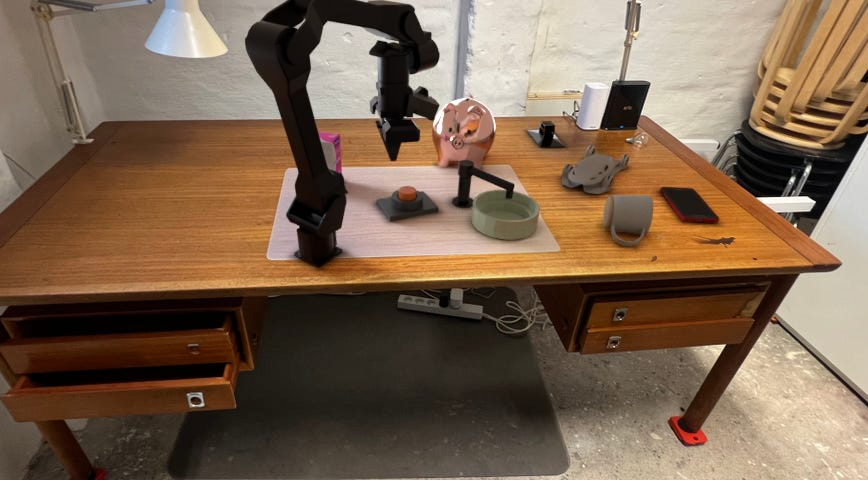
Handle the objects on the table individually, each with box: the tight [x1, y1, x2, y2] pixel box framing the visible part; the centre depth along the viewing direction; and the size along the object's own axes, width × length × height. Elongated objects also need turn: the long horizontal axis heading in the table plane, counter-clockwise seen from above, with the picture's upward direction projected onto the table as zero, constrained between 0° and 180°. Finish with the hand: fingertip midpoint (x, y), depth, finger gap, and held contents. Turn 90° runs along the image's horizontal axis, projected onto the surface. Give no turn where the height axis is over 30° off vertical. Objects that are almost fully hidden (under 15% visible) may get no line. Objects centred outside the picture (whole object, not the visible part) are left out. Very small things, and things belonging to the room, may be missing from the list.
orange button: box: [398, 185, 417, 201], centre depth 106 cm, size 4×4×2 cm
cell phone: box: [659, 186, 720, 224], centre depth 112 cm, size 8×15×1 cm, turn 177°
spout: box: [457, 160, 516, 199], centre depth 103 cm, size 14×3×3 cm, turn 44°
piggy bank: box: [431, 93, 497, 170], centre depth 124 cm, size 15×18×16 cm
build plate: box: [526, 120, 566, 149], centre depth 141 cm, size 12×7×5 cm, turn 7°
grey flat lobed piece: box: [561, 145, 630, 195], centre depth 122 cm, size 11×24×5 cm, turn 146°
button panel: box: [375, 189, 439, 222], centre depth 107 cm, size 11×8×3 cm
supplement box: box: [318, 130, 343, 174], centre depth 113 cm, size 6×6×12 cm
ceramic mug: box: [602, 194, 654, 248], centre depth 100 cm, size 11×8×8 cm
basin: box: [470, 189, 541, 241], centre depth 103 cm, size 13×13×4 cm
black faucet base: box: [451, 175, 474, 209], centre depth 109 cm, size 5×5×6 cm
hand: (393, 160), depth 101 cm, fingers closed
